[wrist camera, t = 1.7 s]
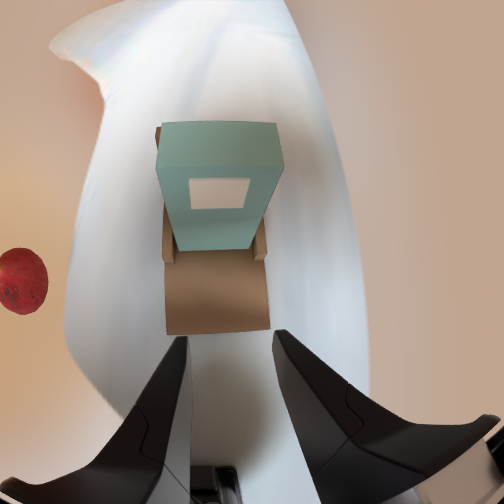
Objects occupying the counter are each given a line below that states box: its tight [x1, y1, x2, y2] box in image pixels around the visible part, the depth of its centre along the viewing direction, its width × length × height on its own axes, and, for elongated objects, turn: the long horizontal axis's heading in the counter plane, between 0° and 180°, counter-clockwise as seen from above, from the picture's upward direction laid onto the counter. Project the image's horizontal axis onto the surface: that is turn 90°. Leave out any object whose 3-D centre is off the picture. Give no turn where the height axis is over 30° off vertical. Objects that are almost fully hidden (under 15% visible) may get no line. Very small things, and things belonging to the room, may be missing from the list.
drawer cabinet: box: [155, 127, 270, 335], centre depth 20 cm, size 14×9×9 cm, turn 5°
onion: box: [0, 248, 48, 315], centre depth 17 cm, size 6×6×8 cm
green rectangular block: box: [156, 121, 284, 251], centre depth 18 cm, size 3×6×12 cm, turn 95°
